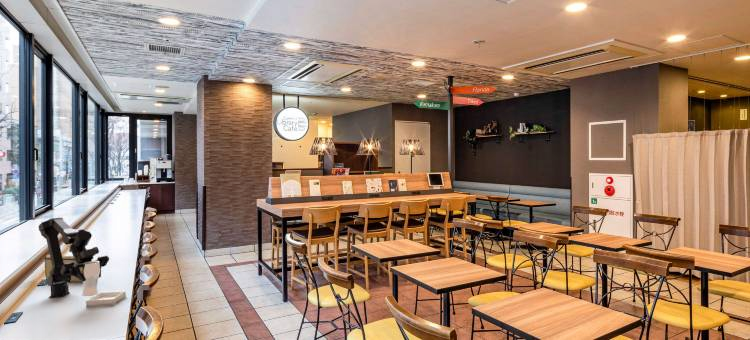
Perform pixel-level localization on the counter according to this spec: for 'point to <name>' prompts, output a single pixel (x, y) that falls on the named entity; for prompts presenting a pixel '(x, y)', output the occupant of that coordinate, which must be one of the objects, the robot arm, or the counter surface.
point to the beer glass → (90, 277)
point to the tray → (106, 299)
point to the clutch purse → (66, 260)
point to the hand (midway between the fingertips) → (92, 279)
